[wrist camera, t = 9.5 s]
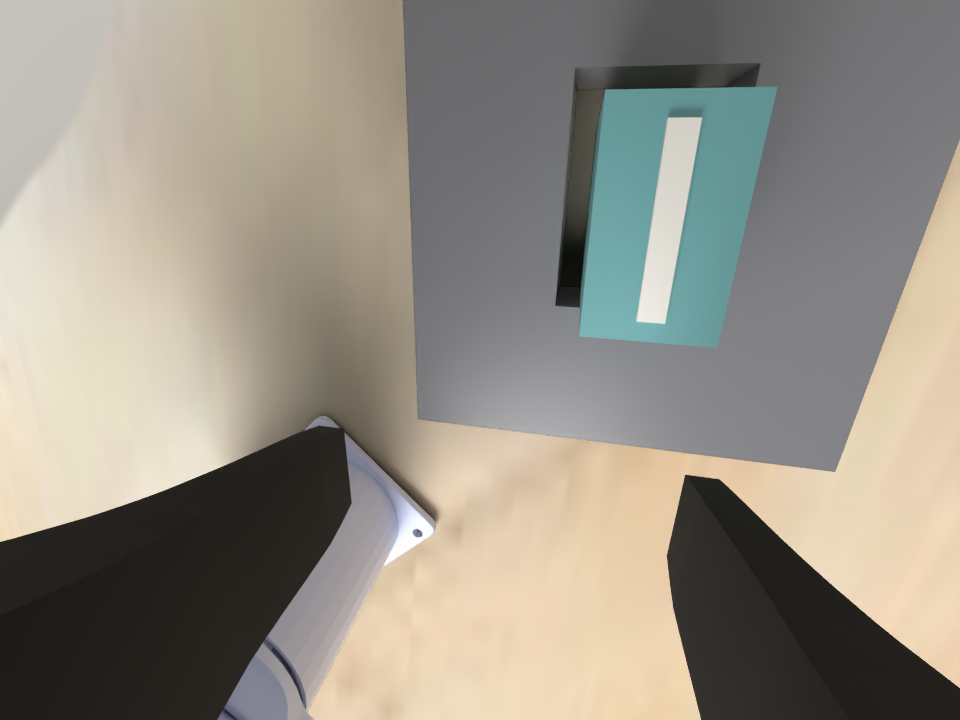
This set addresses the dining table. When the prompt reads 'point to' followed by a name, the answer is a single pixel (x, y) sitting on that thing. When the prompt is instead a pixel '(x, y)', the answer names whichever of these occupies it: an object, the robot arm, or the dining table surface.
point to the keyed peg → (669, 210)
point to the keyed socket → (768, 232)
